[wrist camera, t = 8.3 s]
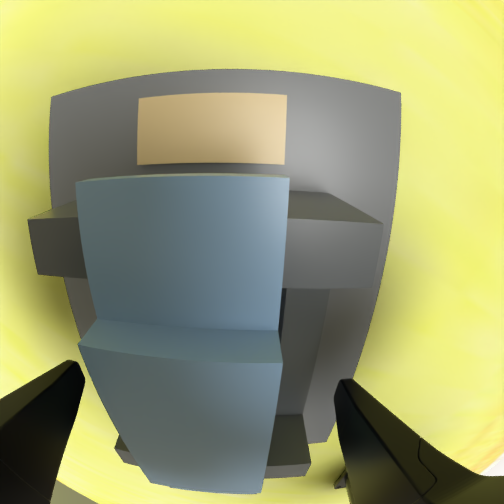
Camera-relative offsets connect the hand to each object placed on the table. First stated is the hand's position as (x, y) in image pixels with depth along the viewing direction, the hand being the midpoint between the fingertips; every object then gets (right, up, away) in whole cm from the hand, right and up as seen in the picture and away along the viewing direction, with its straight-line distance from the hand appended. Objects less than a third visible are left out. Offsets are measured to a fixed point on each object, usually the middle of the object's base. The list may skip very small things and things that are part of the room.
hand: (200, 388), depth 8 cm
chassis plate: (0, +1, +4) cm, 4 cm away
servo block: (0, +1, +3) cm, 4 cm away
